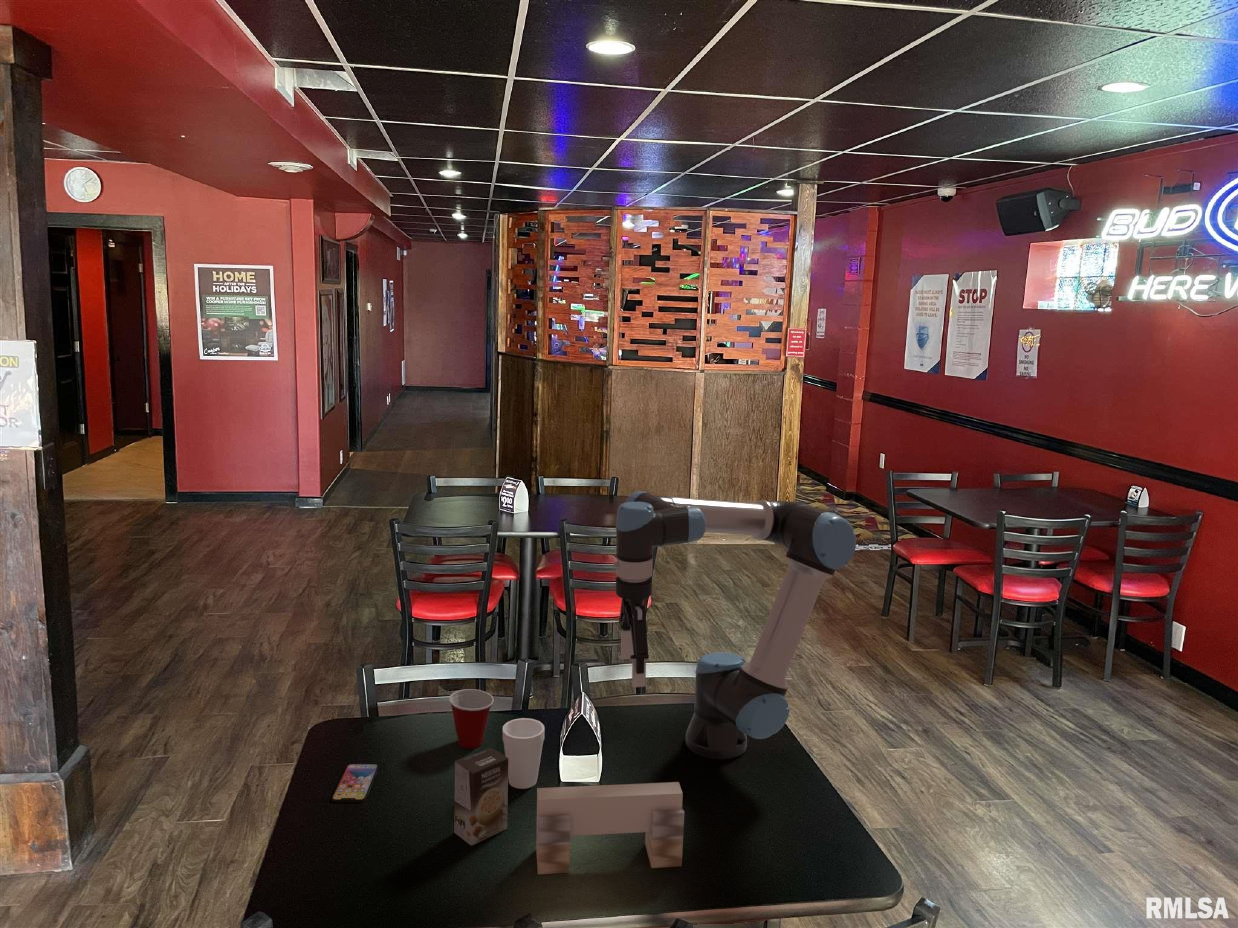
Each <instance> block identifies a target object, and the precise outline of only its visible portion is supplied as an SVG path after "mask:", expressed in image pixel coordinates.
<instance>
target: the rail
mask: <svg viewBox="0 0 1238 928" xmlns="http://www.w3.org/2000/svg"><path fill="white" fill-rule="evenodd" d="M683 796H684V795H683V791H682V788H681V785H680V782H679V781H671V782H669V781H668V782H651V783H649V782H648V783H630V784H629V783H627V784H626V783H625V784H603V785H601V784H600V785H583V786H582V785H581V786H559V787H557V786H556V787H537V788H536V835H537V838H538V821H539V817H541V816H562V815H570V818H571V820H570V837H575V836H578V837H579V836H596V835H597V836H599V835H614V834H617V835H619V834H633V833H634V834H635V833H636V834H637V833H646V832H652V820H653V811H666V810H683Z"/></svg>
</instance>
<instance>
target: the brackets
mask: <svg viewBox="0 0 1238 928" xmlns="http://www.w3.org/2000/svg"><path fill="white" fill-rule="evenodd" d="M570 820H571V818H570V815H562V816H541V817H539V821H538V838H537V834H536V837H535V839H536V842H535V843H536V844H535V845H536V846H535V847H536V849H535V852H536V865H537V875H549V874H550V875H551V874H568V873H570V859H571V858H570V857H571V856H570V855H571V854H570V851H571V850H570V849H571V836H570ZM684 828H685V810H684V809H682V810H666V811H653V820H652V832H645V835H644V838H645V839H644V840H645V841H644V845H645V848H646V853H647V856H648V860H649V864H650V868H651V869H658V868H672V867H675V868H677V867H682V866H683V865H682V864H683V848H684V847H683V845H684V844H683V843H684Z"/></svg>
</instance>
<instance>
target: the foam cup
mask: <svg viewBox="0 0 1238 928" xmlns="http://www.w3.org/2000/svg"><path fill="white" fill-rule="evenodd" d="M545 732H546V731H545V724H543V723H542V722H541V721H540V720H537V719H534V718H527V717H526V718H525V717H521V718H516V719H511V720H509V721H507V722H506V723H504V725H503V726H502V742H503V747H504V748H503V749H504V756H506V757H507V758H509V759H508V785H510V786H511V787H513V788H515V789H522V790H524V789H530V788H532V787H534V786H536V784H537V782H538V781H537V780H538V777H539V772H540V771H539V770H540V763H541V758H542V751H543V744H544V741H545Z"/></svg>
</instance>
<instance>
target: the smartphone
mask: <svg viewBox="0 0 1238 928" xmlns="http://www.w3.org/2000/svg"><path fill="white" fill-rule="evenodd" d="M379 769H380V767H379V764H377V763H349V764H347V765H346V767H345V768H344V770H343V773H342V775H341V777H340V779H339V781H338V783H337V785H336V788H335V790H334V792H333V794H332V795H331V802H333V803H335V804H337V803H339V804H340V803H344V804H345V803H346V804H347V803H351V804H353V803H357V804H358V803H364V802H366V801H367V798H368V796H369V794H370V790H371V788H372V785H373V784H374V780H375V778H376V776H377V774H378V771H379Z"/></svg>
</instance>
